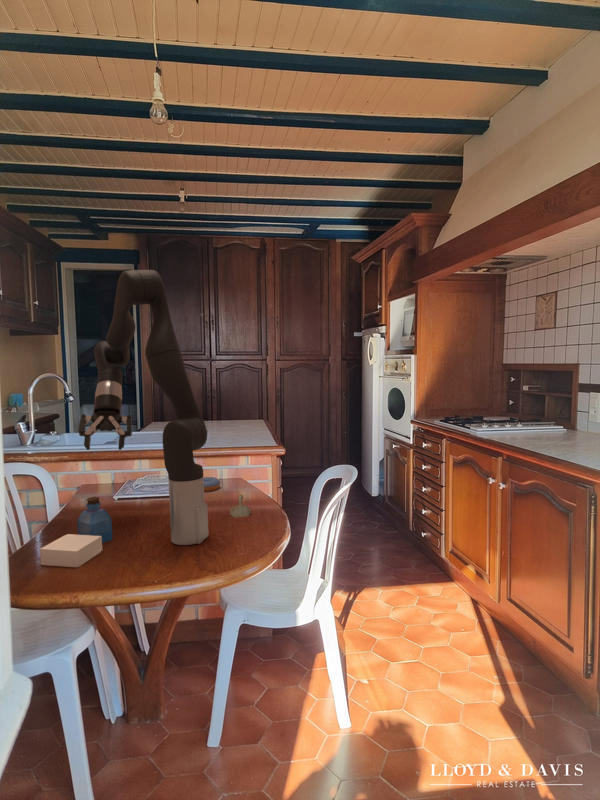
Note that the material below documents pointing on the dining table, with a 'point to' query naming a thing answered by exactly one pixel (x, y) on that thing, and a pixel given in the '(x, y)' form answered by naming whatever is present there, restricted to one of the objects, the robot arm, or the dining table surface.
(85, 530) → the perfume bottle
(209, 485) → the doughnut
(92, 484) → the dining table surface
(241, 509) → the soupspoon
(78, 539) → the plinth
